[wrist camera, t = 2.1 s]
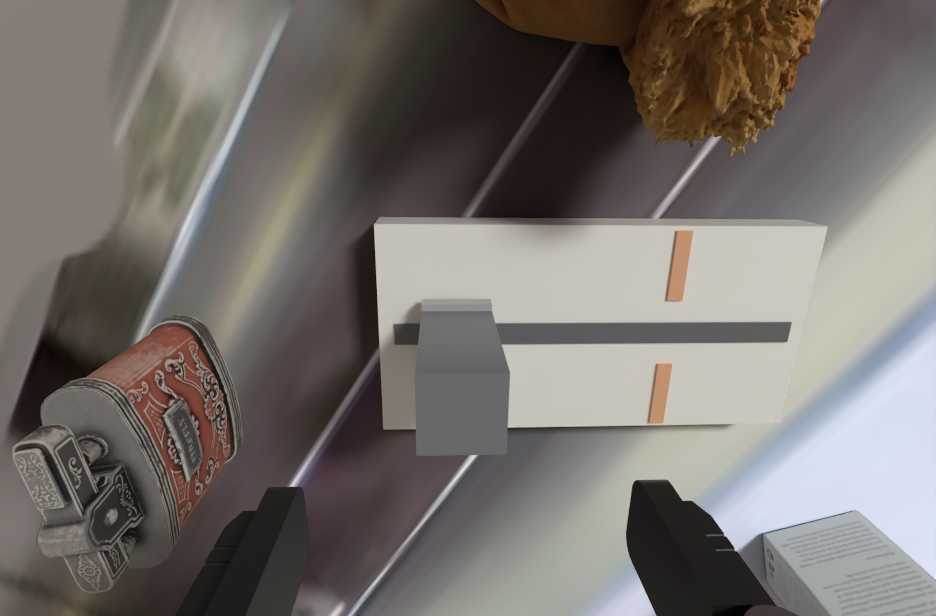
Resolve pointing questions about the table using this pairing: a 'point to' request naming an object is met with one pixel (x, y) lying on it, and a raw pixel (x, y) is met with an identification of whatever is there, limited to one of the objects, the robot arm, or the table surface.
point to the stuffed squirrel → (688, 56)
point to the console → (608, 313)
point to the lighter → (131, 452)
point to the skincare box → (845, 571)
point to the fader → (460, 380)
